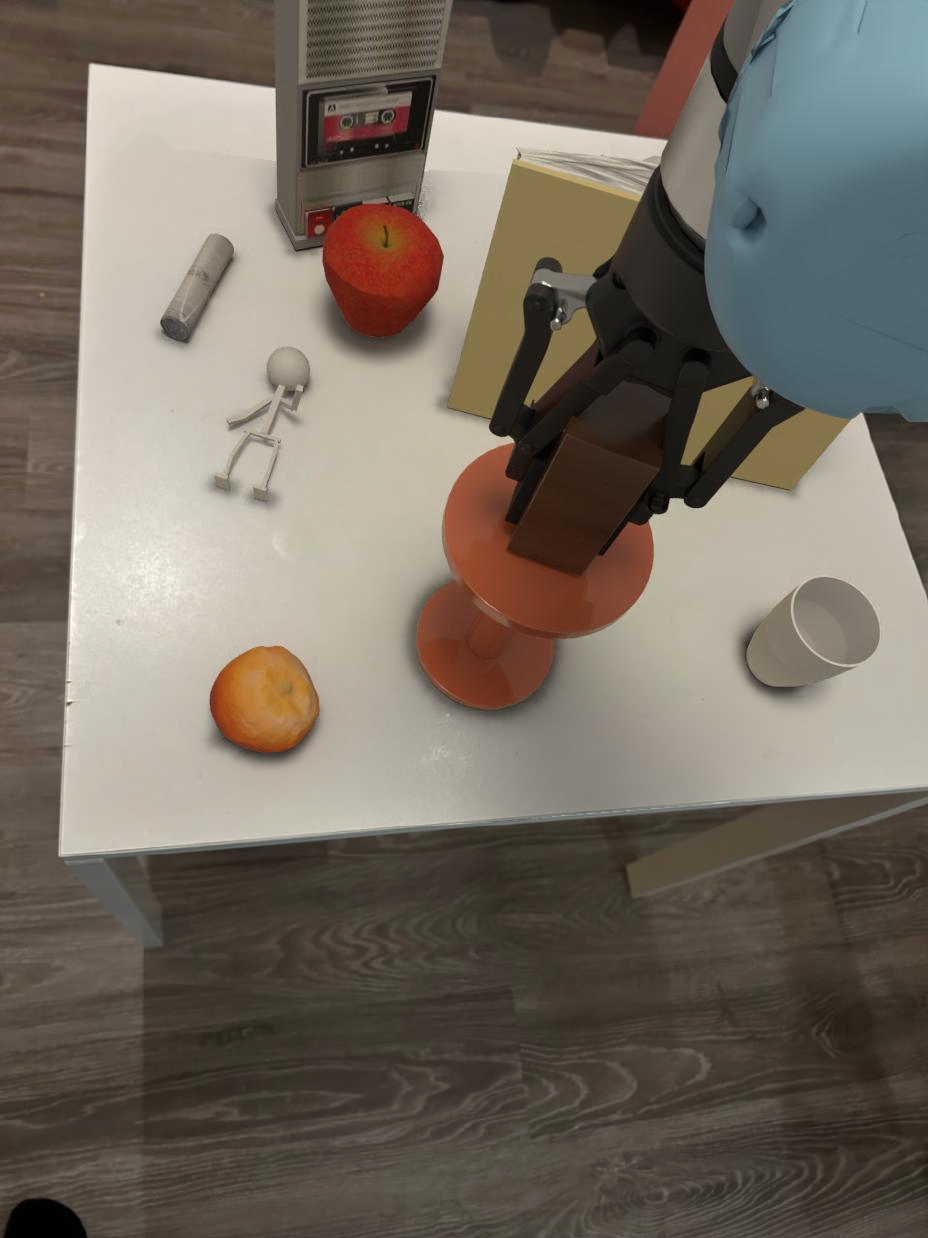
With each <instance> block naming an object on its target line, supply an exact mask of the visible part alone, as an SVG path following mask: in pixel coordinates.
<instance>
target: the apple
mask: <svg viewBox="0 0 928 1238" xmlns="http://www.w3.org/2000/svg"><path fill="white" fill-rule="evenodd" d="M440 243H441V242H440V240H439V238H438V237H437V236H436V235H435V233H434V232H433V231H432V229H430V227H429V226H428V225H427V224H426V223H425V221H424V220H423V219H422V218H421V217H420V215H419V216H417V215H415V214H413V213H411V212H410V211H408V210H406V209H404V208H401V207H396V206H391V205H386V204H363V205H359V206H356V207H352V208H350V209H348V210H347V211H345V212H343V213H342V214H341V215H340V216H339V217H338V218H337V219H336V220H335V221H334V222H333V223H332V224H331V225H330V226H329V228H328V231H327V234H326V237H325V240H324V242H323V245H322V259H321V261H322V268H323V271H324V272H323V273H324V277H325V281H326V283H327V286H328V288H329V290H330V292H331V294H332V296H333V299H334V301H335V302H336V305H337V307H338V309H339V311H340V313H341V315H342V317H343V319H344V321H345V323H346V324H347V325H348V326H349V327H350V328H351V330H352V331H354V332H356V333H358V334H360V335H363V336H364V337H371V338H390V337H393V336H396V335H398V334H400V333H402V332H403V331H404V330H406V328H407V327H409V325H411V324H412V323H413V322H414V321H415V320H416V319H417V317H418V316H419V315H420V314H421V312H423V310H424V309H425V307H427V305H428V303H429V302H430V301H431V300H432V299H433V297H434V296H435V295H436V294H437V292H438V291H439V288H440V281H441V276H442V272H443V271H442V270H443V265H444V259H445V255H444V252H443V248H442V247H441V244H440Z"/></svg>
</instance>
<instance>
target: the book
mask: <svg viewBox="0 0 928 1238" xmlns="http://www.w3.org/2000/svg"><path fill="white" fill-rule="evenodd" d="M515 150H516V151H517V156H516V158H514V157H512V162H511V166H510V170H509V173H508V177H507V181H506V184H505V188H504V192H503V196H502V200H501V204H500V207H499V210H498V214H497V218H496V222H495V226H494V229H493V233H492V237H491V241H490V244H489V248H488V252H487V256H486V259H485V263H484V266H483V271H482V274H481V278H480V281H479V286H478V289H477V293H476V296H475V301H474V304H473V307H472V312H471V316H470V318H469V322H468V327H467V330H466V334H465V337H464V342H463V346H462V349H461V352H460V356H459V359H458V363H457V367H456V371H455V375H454V379H453V383H452V386H451V391H450V394H449V398H448V401H447V406H446V408H449V409H452V410H456V411H461V412H464V413H468V414H471V415H476V416H479V417H483V418H487V419H490V420H491V418H492V415H493V413H494V410H495V407H496V404H497V401H498V398H499V395H500V393H501V390H502V387H503V385H504V382H505V380H506V377H507V375H508V372H509V370H510V367H511V365H512V362H513V360H514V357H515V355H516V352H517V349H518V347H519V344H520V342H521V339H522V337H523V334H524V332H525V326H524V313H523V301H524V298H525V295H526V292H527V289H528V287H529V284H530V281H531V278H532V275H533V273H534V270H535V267H536V264H537V262H538V261H539V260H540V259H542V258H544V257H551V258H554V259H556V260H557V261H559V263H560V264H561V265H562V270H563V273H569V274H580V275H591V276H592V275H593V273H594V271H595V270H596V269H597V268H598V267H599V266H600V265H601V264H603V263H604V262H606V261H607V260H609V259H610V258H611V257H612V256H613V255H614V254H615V252H616V251H617V249H618V247H619V245H620V243H621V240H622V238H623V236H624V234H625V232H626V230H627V227H628V225H629V223H630V221H631V219H632V216H633V214H634V212H635V210H636V208H637V206H638V203H639V201H640V199H641V197H642V195H643V192H644V190H645V188H646V186H647V184H648V182H649V179H650V177H651V175H652V173H653V172H654V170H655V169H656V168H657V167H658V165H659V164H660V163H657V162H651V161H643V160H644V159H642V160H641V159H634V158H633V159H632V158H626V157H625V158H624V157H617V156H607V155H604V156H601V155H596V154H586V153H578V152H577V153H576V152H566V151H565V152H564V151H557V150H549V149H548V150H547V149H540V148H539V149H538V148H529V147H521V146H516V147H515ZM606 156H607V157H606ZM595 339H596V335H595V332H594V330H593V327H592V324H591V321H590V318H589V315H588V312H587V309H586V308H582V309H578V310H577V311H575V312H574V314H573V316H572V319H571V321H570V322H569V323H567V324H564V325H562V328H561V329H560V330H558V331H555V330H554V331H553V334H552V337H551V340H550V343H549V346H548V349H547V352H546V354H545V356H544V359H543V361H542V363H541V365H540V368H539V370H538V372H537V374H536V377H535V379H534V381H533V383H532V386H531V388H530V390H529V392H528V395H527V397H526V399H525V401H524V404H525V405H527V406H528V407H530V405H531V402H532V400H533V399H534V400H535V401H534V403H536V402H537V401H538V400H539V399H540V398H541V397H542V396H543V395H544V394H545V393H546V392H547V391H548V390H549V389H550V388H551V387H552V386H553V385H554V384H555V383H556V382H557V381H558V379H559V378H560V377H561V376H562V375H563V374H564V373H565V372H566V371H567V370H568V369H569V368H570V367H571V366H572V365H573V364H574V363H575V362H576V361H577V360H578V359H579V358H580V357H581V356H582V355H583V354H584V353H585V352H586V351H587V349H588V348H589V347H590V346H591V345H592V344H593V343H594V341H595ZM752 381H753V376H750V377H747V378H745V379H742V380H739V381H736V382H733V383H730V384H727V385H724V386H721V387H718V388H715V389H712V390H709V391H706V392H703V393H702V397H701V400H700V403H699V407H698V410H697V413H696V417H695V420H694V423H693V424H692V427H691V431H690V434H689V437H688V441H687V444H686V447H685V451H684V454H683V457H682V461H681V464H684V465H691V463H692V462H693V461H694V459H695V458H696V457H697V455H698V454H699V453H700V451H701V450H702V449H703V448H704V446H705V445H706V444H707V442H708V441H709V440H710V438H711V437H712V436H713V435H714V433H715V432H716V431H717V429H718V428H719V427H720V425H721V424H722V423H723V421H724V420H725V419H726V418H727V416H728V415H729V414H730V412H731V411H732V410H733V408H734V407H735V406H736V405H737V403H738V402H739V401H740V399H741V398H742V397H743V395H744V394H745V393H746V391H747V390H748V389H749V388H750V386H751V385H752ZM852 420H853V419H851V420H850V419H841V418H837V417H833V416H829V415H825V414H822V413H819V412H816V411H813V410H810V409H807V408H806V409H804V410H803V411H802V412H800V413H798V414H796V415H795V416H793V417H791V418H789V419H787V420H786V421H784V422H782V423H780V424H778V425H777V426H775V427H773V428H772V429H771V430H770V431H769V432H768V433H767V435H766V436H765V437H764V438H763V439H762V440H761V442H760V443H759V444H758V445H757V446H756V447H755V448H754V450H753V451H752V452H751V453H750V454H749V455H748V457H747V458H746V459H745V460H744V461H743V462H742V464H741V465H740V466H739V467H738V468H737V469H736V470H735V472H734V473H733V474H732V475H731V476H730V477H729V478H731V477H732V478H735V479H740V480H744V481H748V482H753V483H757V484H763V485H767V486H772V487H775V488H781V489H785V490H789V491H792V490H793V489H794V488H795V486H797V484H798V483H799V482H800V481H801V480H802V478H803V477H804V476H805V475H806V474H807V473H808V471H809V470H810V469H811V468H812V467H813V465H814V464H815V463H816V462H817V461H818V460H819V458H820V457H822V455H823V454H824V453H825V451H827V449H828V448H829V447H830V446H831V444H832V443H833V442H834V441H835V440H836V439H837V437H838V436H839V435H840V434H841V433H842V431H844V429H845V428H846V427H847V426H848V425H849V423H850V422H851V421H852Z"/></svg>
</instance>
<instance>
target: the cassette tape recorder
mask: <svg viewBox="0 0 928 1238" xmlns="http://www.w3.org/2000/svg"><path fill="white" fill-rule="evenodd" d="M453 5H454V0H273V17H274V18H273V20H274V21H273V22H274V23H273V25H274V27H273V28H274V84H275V86H274V88H275V90H274V91H275V93H274V94H275V95H274V96H275V151H276V157H275V159H276V160H275V161H276V198H275V199H274V206H275V207H274V209H275V210H276V212H277V215H278V216H279V218H280V220H281V223H282V224H283V227H284V228H285V232H286V233H287V235H288V237H289V240H290V241H291V243H292V245H293V247H294V249H295V250H301V249H308V248H313V247H318V246H319V247H320V246H323V242H324V240H325V237H326V234H327V231H328V228H329V226H330V225H331V224H332V223H333V222H334V221H335V220H336V219H337V218H338V217H339V216H340V215H341V214H342V213H343V212H345V211H347V210H348V209H350V208H352V207H356V206H359V205H363V204H386V205H391V206H396V207H401V208H404V209H406V210H408V211H410V212H411V213H413V214H415V215H417V216H419V217H420V215H419V213H418V210H419V205H420V199H421V193H422V187H423V181H424V175H425V169H426V162H427V157H428V151H429V147H430V141H431V140H430V139H431V134H432V128H433V122H434V116H435V112H436V111H435V110H436V105H437V99H438V93H439V87H440V81H441V76H442V70H443V64H444V57H445V51H446V46H447V40H448V35H449V28H450V23H451V16H452V11H453V7H454V6H453Z"/></svg>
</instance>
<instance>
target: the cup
mask: <svg viewBox="0 0 928 1238" xmlns="http://www.w3.org/2000/svg"><path fill="white" fill-rule="evenodd" d="M882 627H883V626H882V622H881V619H880V614H879V613H878V610H877V608H876V607H875V605H874V603H873V601H871V599H870V598H869V597H868V596H867V594H866V593H865V592H864V591H862V590H861V589H860V588H859V587H858V586H857V585H855V584H853V583H852V582H850V581H849V580H846V579H844V578H842V577H839V576H837V575H830V574H817V575H813V576H810V577H808V578H806V579H804V580H802V582H801V583H800V584H798V585H797V586H796V587H795V588H794V589H792V591H790V592H789V593H788V594H787V595H786V596H785V597H784V598H783V599H781V600H780V601H779V602H778V603H777V604H776V605H775V606H774V607H773V608H772V609H771V610H770V612H769V613H768V614H767V615H766V617H765V618H764V619H763V620H762V621H761V623H760V624H759V625H758V626H757V628H756V629H755V631H754V633H753V636H752V637H751V639H750V642H749V644H748V646H747V648H746V653H745V657H746V663H747V666H748V668H749V670H750V672H751V673H752V674H753V676H754V677H755V678H756V679H757V680H758V681H759V682H761V683H763V684H765V685H766V686H769V687H776V688H782V687H784V688H785V687H800V686H805V685H809V684H813V683H817V682H820V681H821V682H822V681H825V680H828V679H832V678H834V677H836V676H839V675H840V674H843V673H846V672H849V671H851V670H853V669H855V668H857V667H861V666H862V665H865V664H867V663H869V662H870V661H871V660H872V659H873V658H874V657H875V656H876V655H877V653H878V652H879V650H880V647H881V645H882V641H883V628H882Z"/></svg>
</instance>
